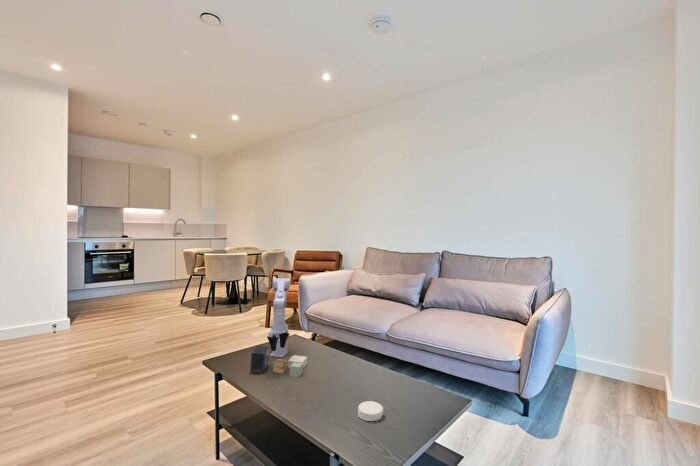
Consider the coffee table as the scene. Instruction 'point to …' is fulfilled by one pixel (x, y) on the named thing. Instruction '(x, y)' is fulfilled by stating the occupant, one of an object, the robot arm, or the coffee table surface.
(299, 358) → the base block
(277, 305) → the robot arm
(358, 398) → the coffee table surface
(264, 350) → the small box
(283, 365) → the oak cube
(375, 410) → the coaster
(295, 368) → the sage cube
